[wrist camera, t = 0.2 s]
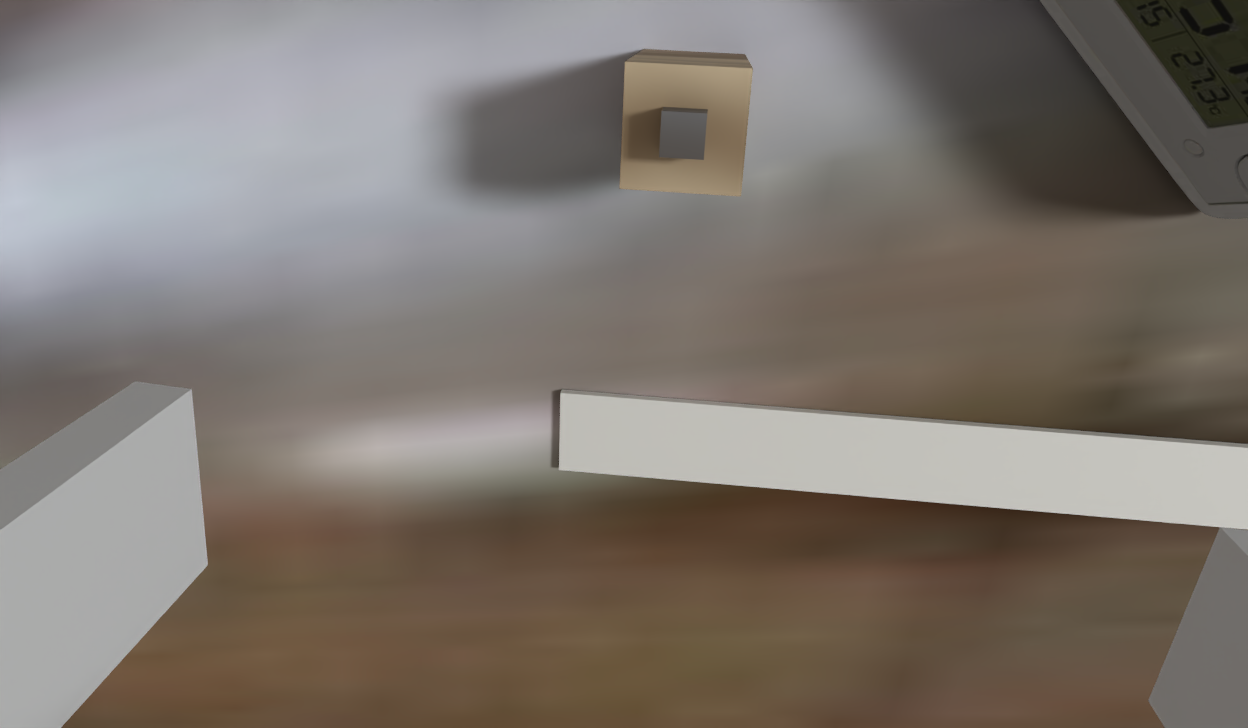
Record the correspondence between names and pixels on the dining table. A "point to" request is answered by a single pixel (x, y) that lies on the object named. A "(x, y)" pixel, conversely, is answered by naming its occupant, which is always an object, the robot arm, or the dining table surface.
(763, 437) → the lath
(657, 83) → the tan wooden block
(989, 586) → the dining table surface
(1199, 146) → the digital clock
